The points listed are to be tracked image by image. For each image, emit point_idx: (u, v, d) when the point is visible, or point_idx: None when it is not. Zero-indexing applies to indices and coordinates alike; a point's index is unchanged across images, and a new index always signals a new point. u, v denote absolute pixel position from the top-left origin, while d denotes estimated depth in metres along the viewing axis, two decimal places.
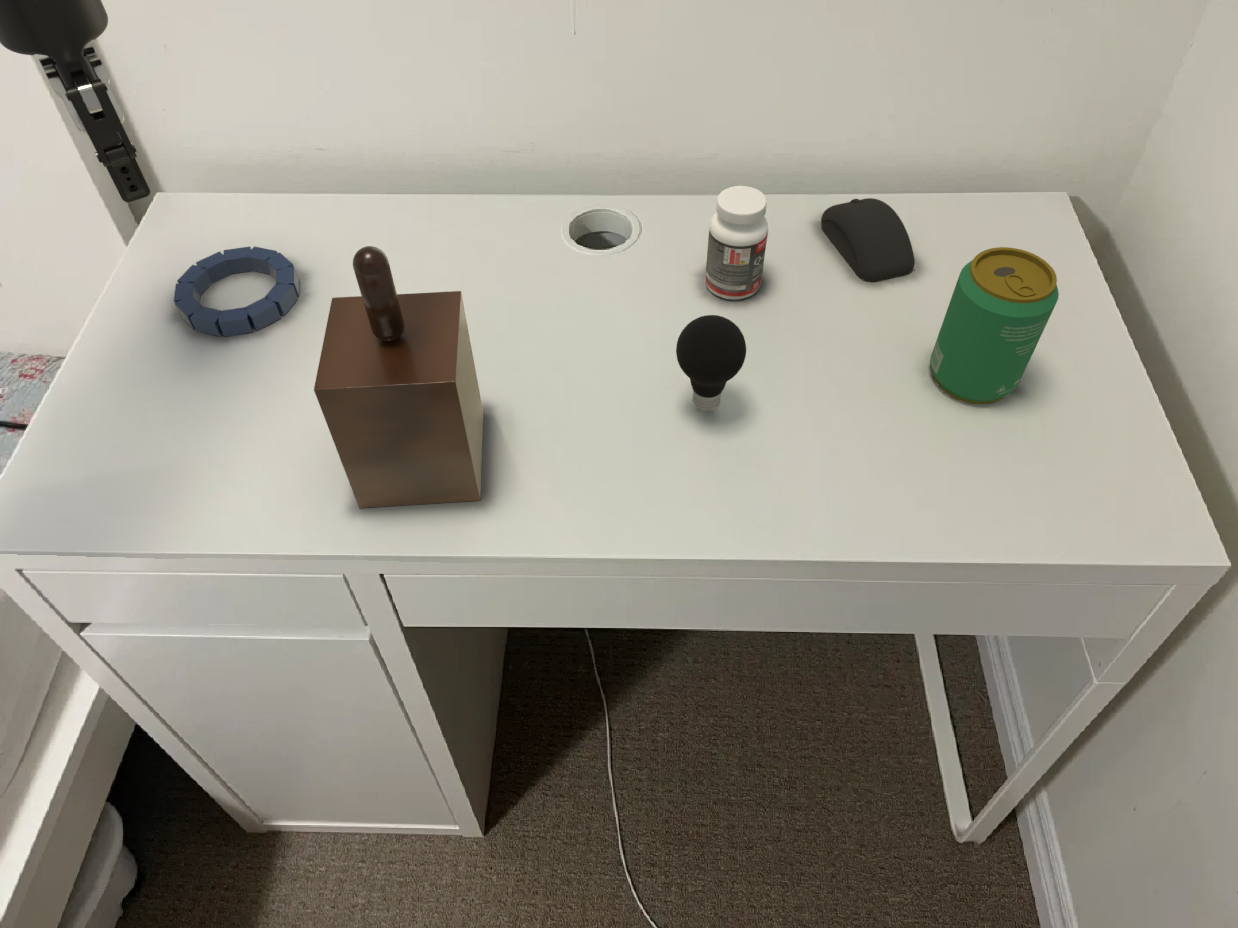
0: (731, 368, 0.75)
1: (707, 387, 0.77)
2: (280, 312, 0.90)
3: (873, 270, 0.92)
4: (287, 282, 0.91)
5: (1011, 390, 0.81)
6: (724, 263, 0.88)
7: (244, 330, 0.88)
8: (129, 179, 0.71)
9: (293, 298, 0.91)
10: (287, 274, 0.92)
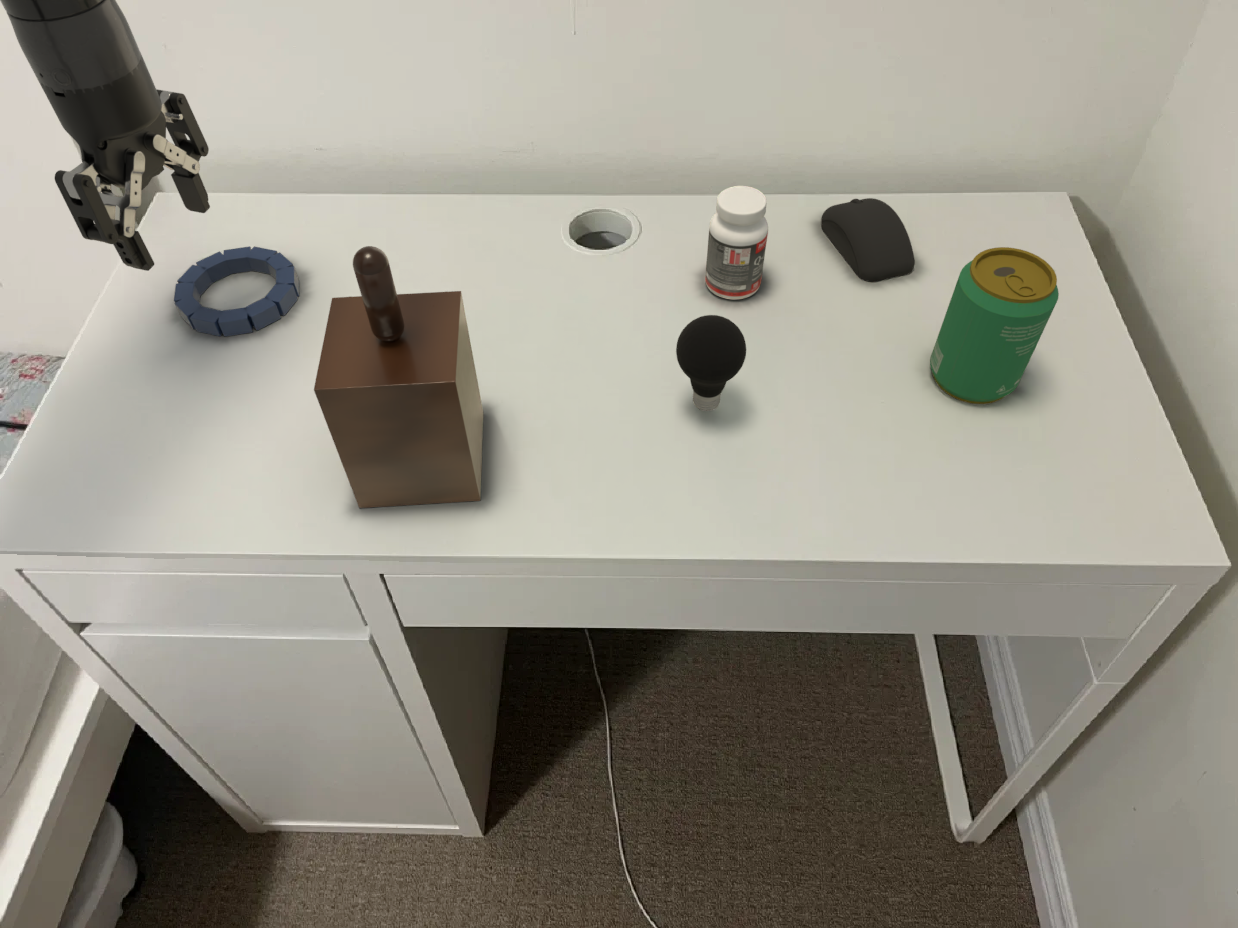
0: (731, 368, 0.75)
1: (707, 387, 0.77)
2: (280, 312, 0.90)
3: (873, 270, 0.92)
4: (287, 282, 0.91)
5: (1011, 390, 0.81)
6: (724, 263, 0.88)
7: (244, 330, 0.88)
8: (126, 253, 0.76)
9: (293, 298, 0.91)
10: (287, 274, 0.92)
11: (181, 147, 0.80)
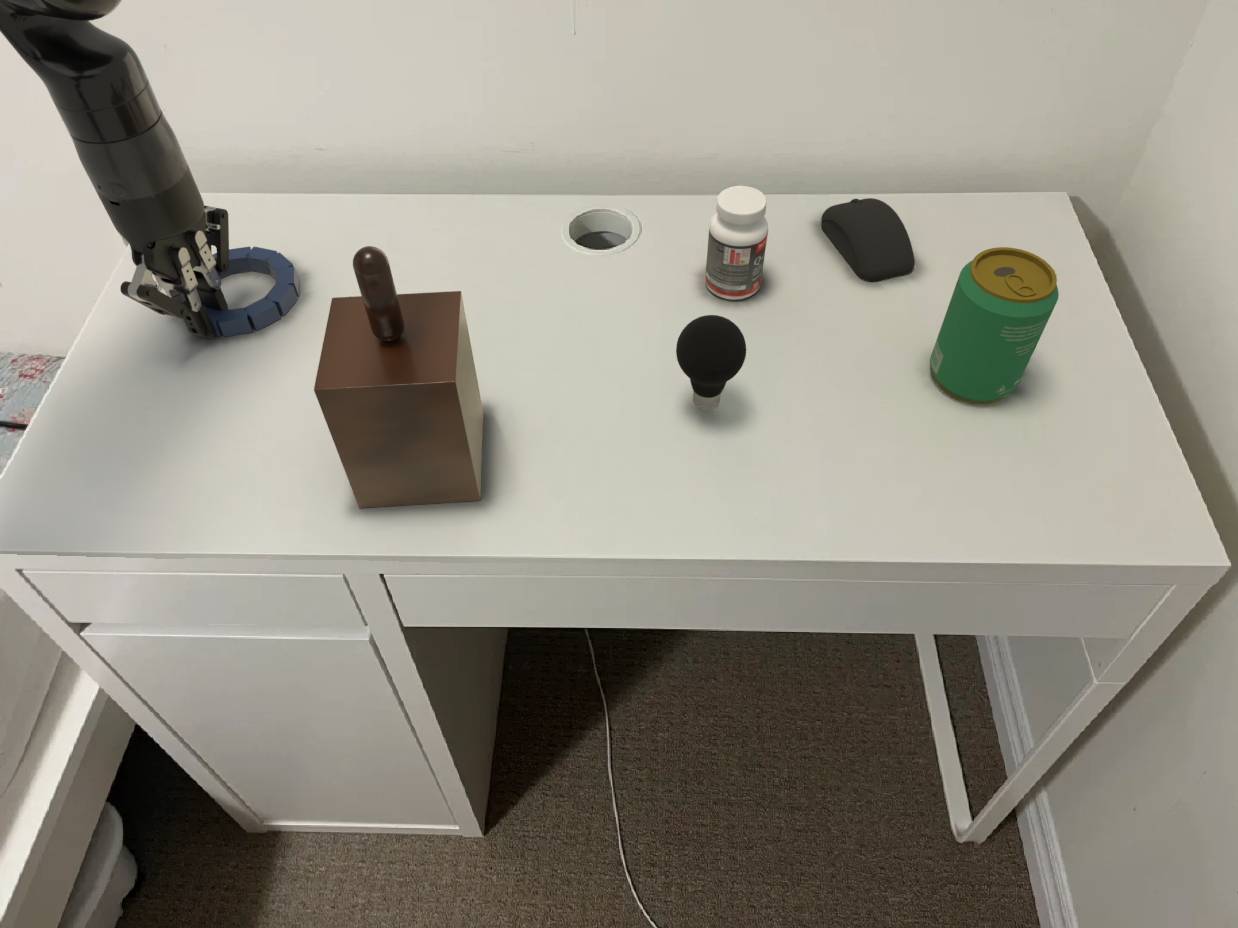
0: (731, 368, 0.75)
1: (707, 387, 0.77)
2: (280, 312, 0.90)
3: (873, 270, 0.92)
4: (287, 282, 0.91)
5: (1011, 390, 0.81)
6: (724, 263, 0.88)
7: (244, 330, 0.88)
8: (192, 324, 0.86)
9: (293, 298, 0.91)
10: (287, 274, 0.92)
11: None
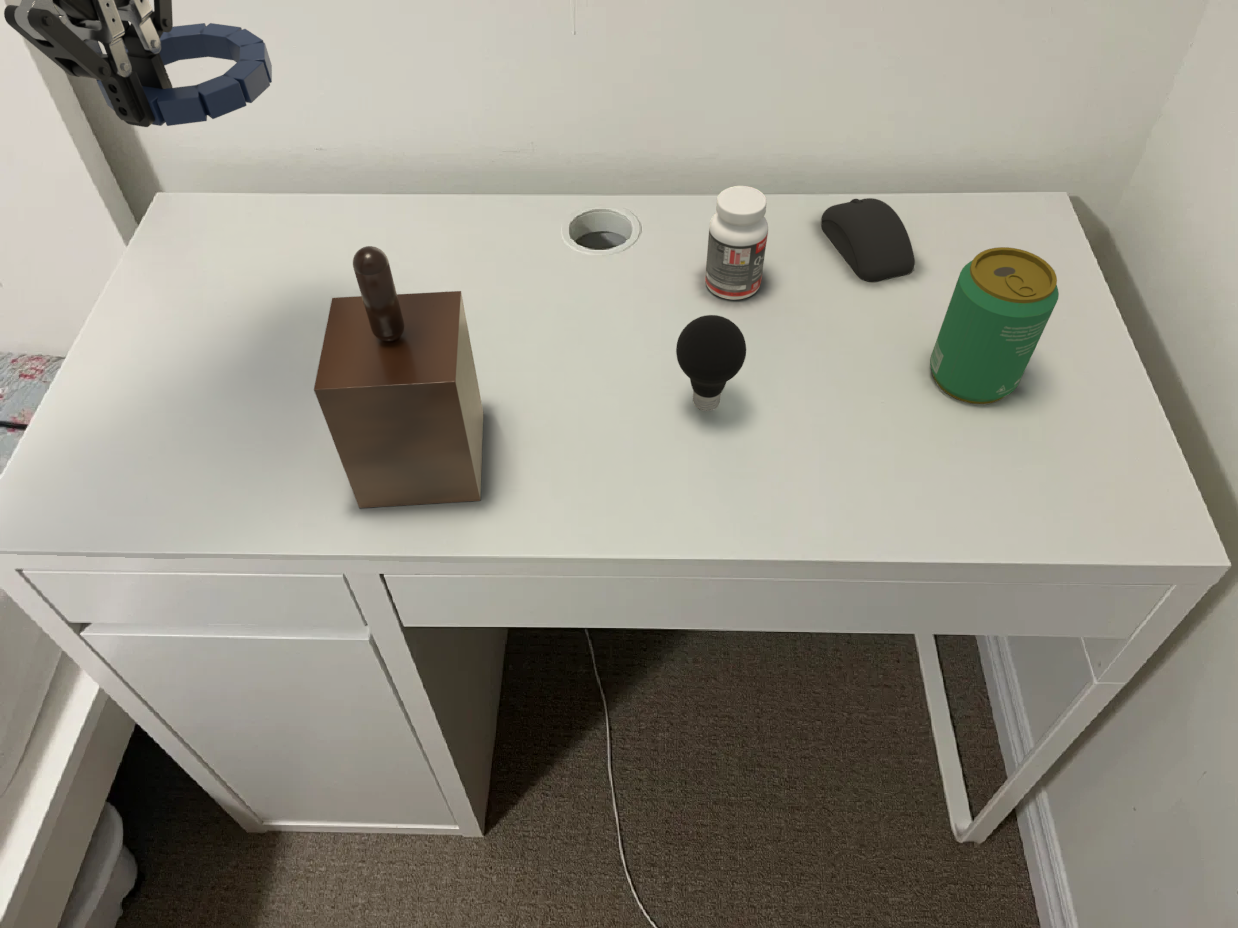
0: (731, 368, 0.75)
1: (707, 387, 0.77)
2: (245, 97, 0.65)
3: (873, 270, 0.92)
4: (255, 59, 0.66)
5: (1011, 390, 0.81)
6: (724, 263, 0.88)
7: (194, 117, 0.63)
8: None
9: (263, 81, 0.66)
10: (255, 51, 0.67)
11: None
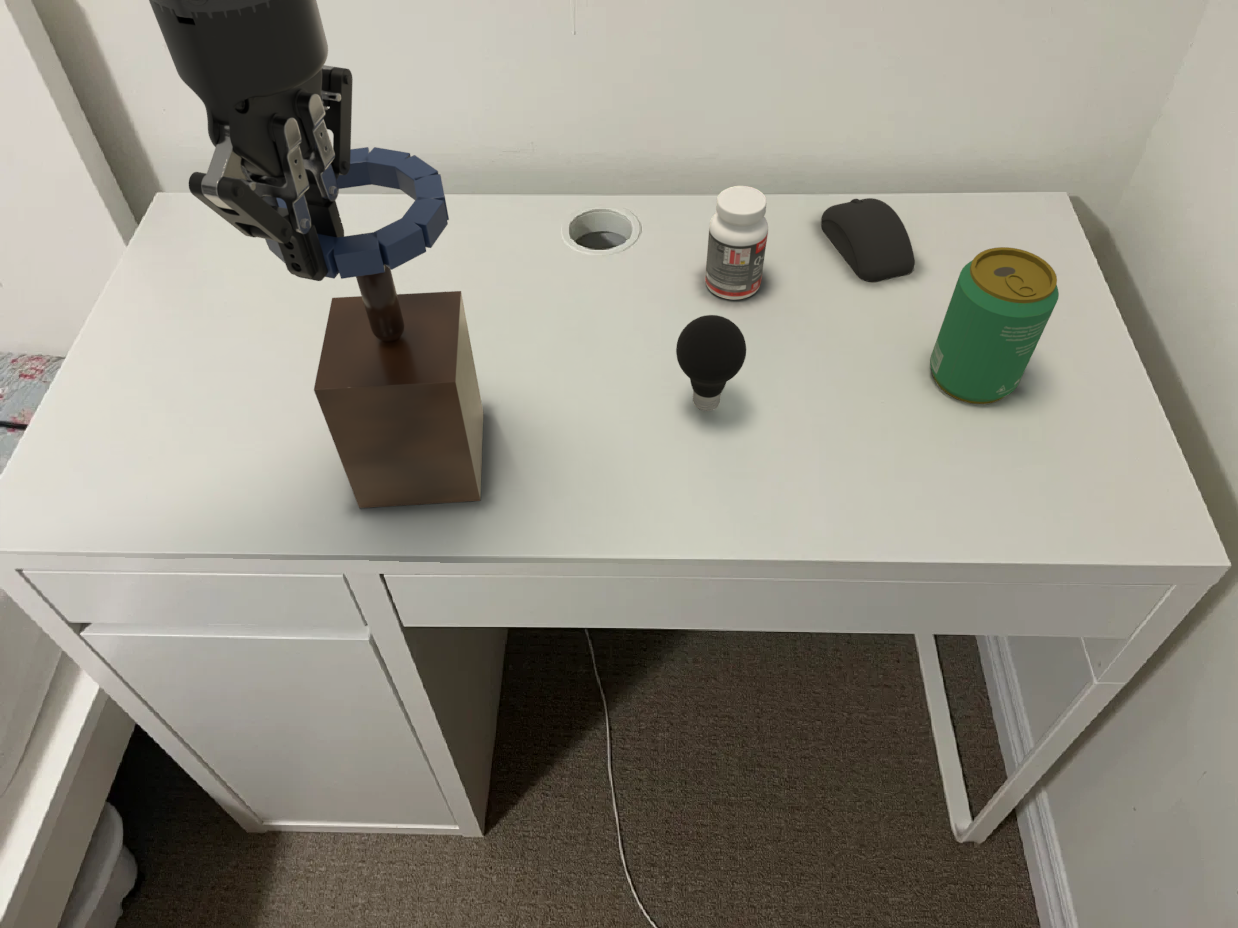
0: (731, 368, 0.75)
1: (707, 387, 0.77)
2: (425, 242, 0.57)
3: (873, 270, 0.92)
4: (435, 197, 0.58)
5: (1011, 390, 0.81)
6: (724, 263, 0.88)
7: (372, 269, 0.56)
8: (294, 256, 0.54)
9: (442, 221, 0.58)
10: (432, 185, 0.59)
11: None
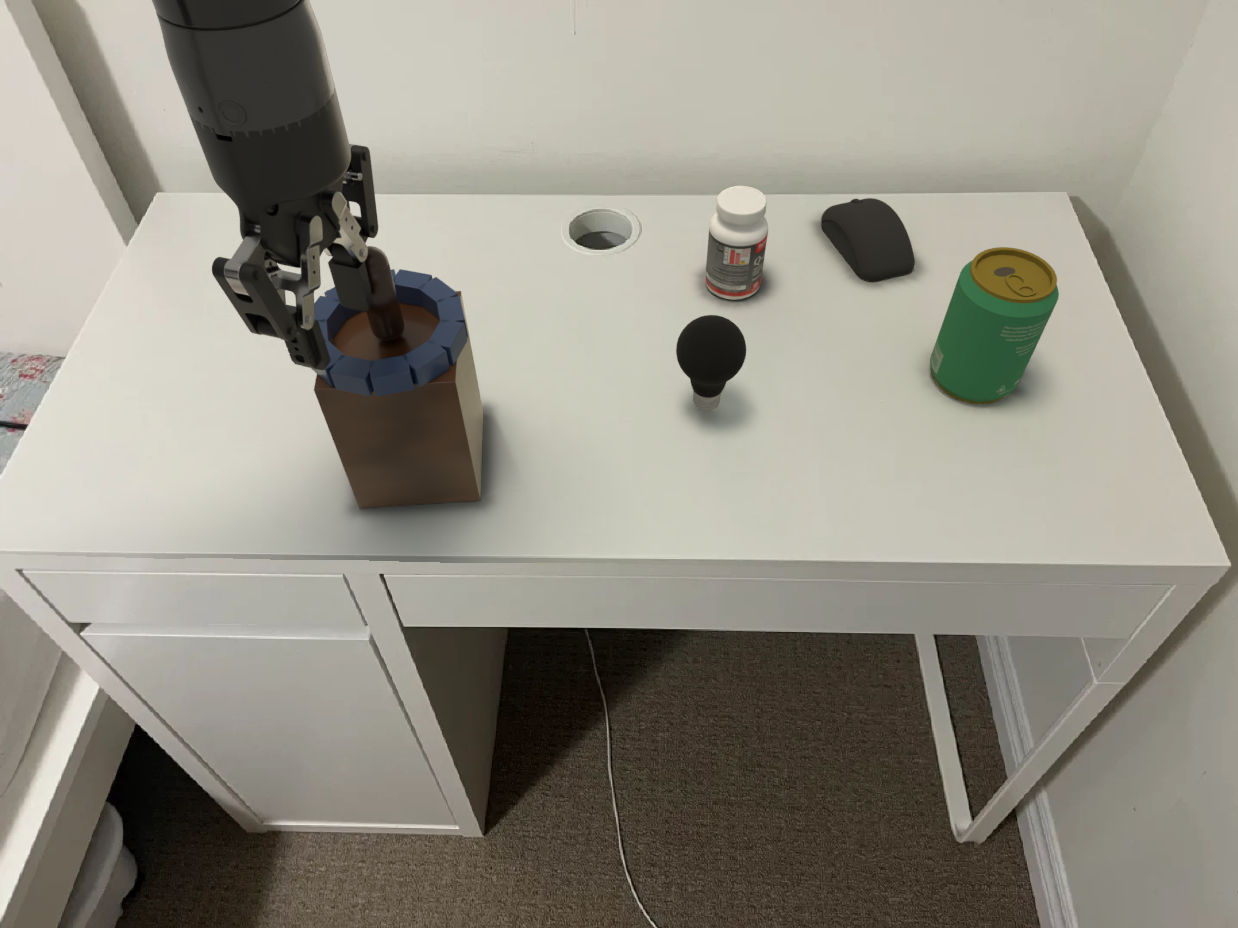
0: (731, 368, 0.75)
1: (707, 387, 0.77)
2: (448, 361, 0.65)
3: (873, 270, 0.92)
4: (456, 319, 0.66)
5: (1011, 390, 0.81)
6: (724, 263, 0.88)
7: (403, 387, 0.64)
8: (298, 349, 0.56)
9: (463, 340, 0.66)
10: (453, 308, 0.67)
11: None
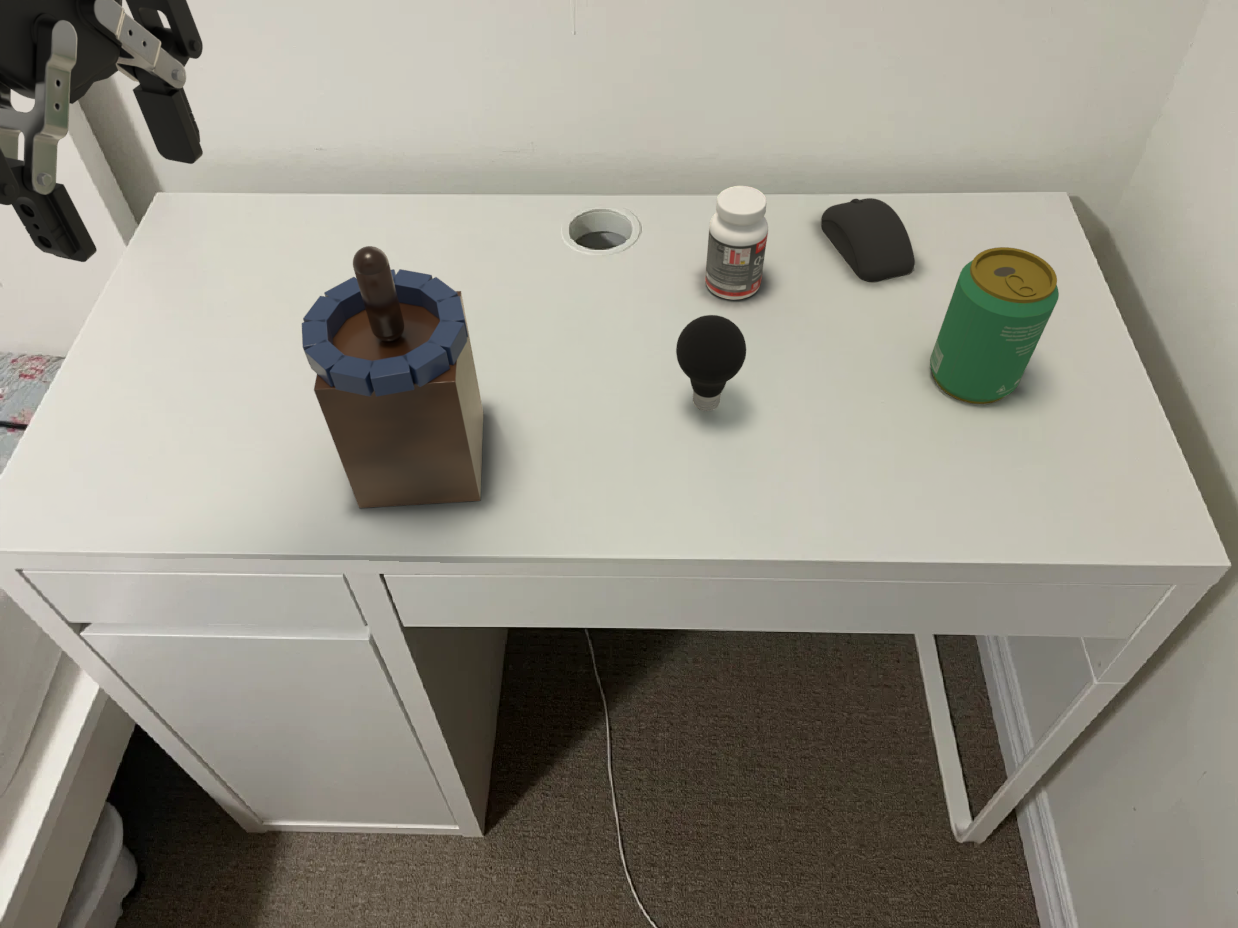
0: (731, 368, 0.75)
1: (707, 387, 0.77)
2: (448, 361, 0.65)
3: (873, 270, 0.92)
4: (456, 319, 0.66)
5: (1011, 390, 0.81)
6: (724, 263, 0.88)
7: (403, 387, 0.64)
8: None
9: (463, 340, 0.66)
10: (453, 308, 0.67)
11: None
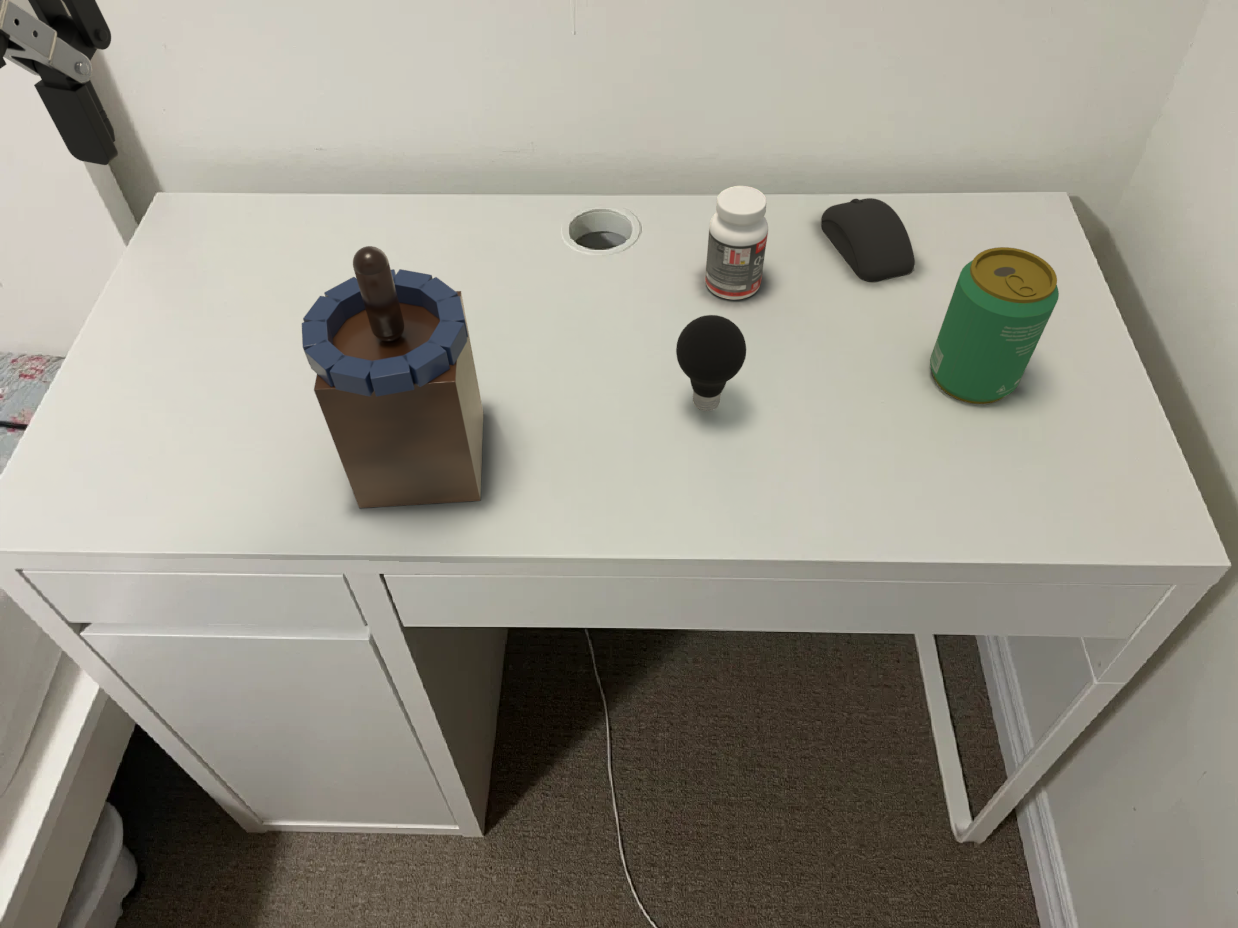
0: (731, 368, 0.75)
1: (707, 387, 0.77)
2: (448, 361, 0.65)
3: (873, 270, 0.92)
4: (456, 319, 0.66)
5: (1011, 390, 0.81)
6: (724, 263, 0.88)
7: (403, 387, 0.64)
8: None
9: (463, 340, 0.66)
10: (453, 308, 0.67)
11: (54, 29, 0.40)
